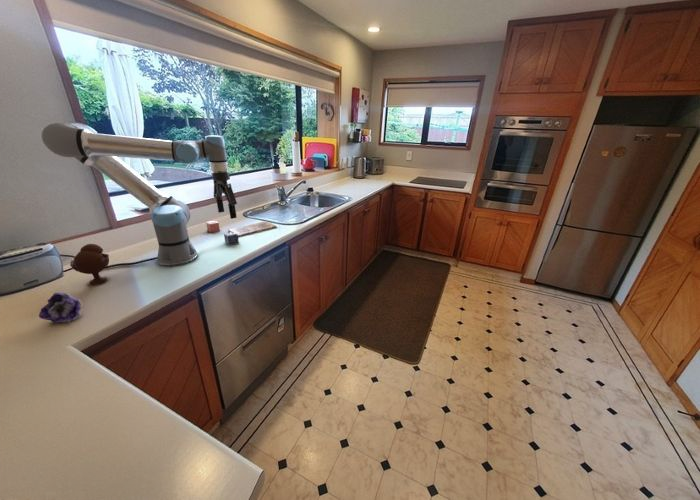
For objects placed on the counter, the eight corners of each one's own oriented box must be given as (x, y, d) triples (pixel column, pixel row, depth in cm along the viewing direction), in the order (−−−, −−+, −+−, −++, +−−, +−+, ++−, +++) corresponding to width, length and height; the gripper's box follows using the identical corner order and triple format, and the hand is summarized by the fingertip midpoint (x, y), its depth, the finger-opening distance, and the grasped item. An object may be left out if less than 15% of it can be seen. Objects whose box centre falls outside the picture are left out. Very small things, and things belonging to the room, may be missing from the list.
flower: (40, 294, 87) (43, 291, 80) (79, 294, 93) (84, 292, 87) (35, 325, 85) (37, 324, 78) (74, 323, 91) (80, 322, 85)
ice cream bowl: (86, 277, 109) (72, 241, 103) (121, 273, 113) (109, 238, 107) (73, 291, 100) (56, 253, 94) (111, 286, 104) (97, 249, 98)
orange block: (210, 232, 157) (209, 223, 155) (207, 230, 160) (205, 221, 158) (219, 230, 160) (218, 222, 158) (216, 228, 164) (214, 219, 161)
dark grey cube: (229, 245, 142) (227, 235, 140) (225, 242, 145) (223, 233, 143) (238, 243, 145) (237, 233, 143) (234, 240, 148) (233, 230, 146)
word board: (238, 236, 153) (237, 235, 152) (228, 231, 160) (228, 229, 160) (276, 227, 169) (276, 225, 168) (266, 222, 176) (266, 221, 176)
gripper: (240, 173, 125) (246, 219, 134) (216, 167, 141) (223, 208, 150) (223, 175, 120) (231, 222, 129) (201, 168, 136) (209, 211, 145)
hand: (227, 215), depth 139 cm, fingers open, 13 cm apart
